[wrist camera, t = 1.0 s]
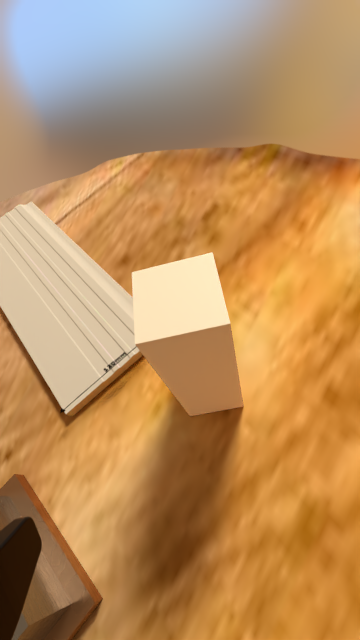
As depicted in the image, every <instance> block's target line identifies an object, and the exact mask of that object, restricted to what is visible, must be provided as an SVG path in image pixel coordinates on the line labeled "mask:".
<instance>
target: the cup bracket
mask: <svg viewBox="0 0 360 640" xmlns="http://www.w3.org/2000/svg"><path fill="white" fill-rule="evenodd" d="M27 516H29V517H31V518H33V520H34V522H35V525H36V527H37V530H38V532H39V534H40V537H41V539H42V548H41V552H40V556H39V559H38V562H37V565H36V568H35V572H34V575H33V578H32V581H31V584H30V588H29V591H28V594H27V597H26V600H25V604H24V607H23V610H22V613H21V616H20V619H19V622H18V624H17V627H16V630H15V632H14V635H13V638H12V640H72V638H73V637H74V636H75V634H76V633H77V632H78V630H79V629H80V628H81V626H82V625H83V624H84V622H85V621H86V620H87V618H88V617H89V616H90V614H91V613H92V612H93V611H94V609H95V608H96V607H97V605H98V604H99V603H100V601H101V600H102V599H103V598H102V597H101V595H100V594H99V592H98V590H97V589H96V587H95V586H94V584H93V583H92V581H91V580H90V578H89V576H88V575H87V573H86V572H85V570H84V569H83V567H82V566H81V564H80V562H79V561H78V559H77V558H76V556H75V555H74V553H73V552H72V550H71V548H70V547H69V545H68V544H67V542H66V541H65V539H64V538H63V536H62V534H61V533H60V531H59V530H58V528H57V527H56V525H55V523H54V522H53V520H52V519H51V517H50V516H49V514H48V513H47V511H46V509H45V508H44V506H43V505H42V503H41V502H40V500H39V499H38V497H37V495H36V494H35V492H34V491H33V489H32V488H31V486H30V485H29V483H28V481H27V480H26V478H25V477H24V475H18V474H14V475H13V476H12V477H11V478H10V480H9V481H8V482H7V483H6V484H5V485H4V486H3V487H2V488H1V489H0V530H2V529H3V528H4V527H5V526H7V525H8V524H9V523H10V522H11V521H13V520H14V519H16V518H20V517H27Z"/></svg>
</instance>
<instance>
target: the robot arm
mask: <svg viewBox="0 0 360 640" xmlns="http://www.w3.org/2000/svg"><path fill="white" fill-rule="evenodd" d="M41 548H42V539H41V537H40V534H39V532H38V530H37V527H36V525H35V522H34V520H33V518H31V517H29V516H27V517H20V518H16V519H14V520H13V521H11V522H10V523H9V524H8V525H7V526H5V527H4V528H3V529H2V530H0V640H12V638H13V635H14V632H15V630H16V627H17V624H18V622H19V619H20V616H21V613H22V610H23V607H24V604H25V600H26V597H27V594H28V591H29V588H30V584H31V581H32V578H33V575H34V572H35V568H36V565H37V562H38V559H39V556H40V552H41Z"/></svg>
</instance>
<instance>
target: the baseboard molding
mask: <svg viewBox="0 0 360 640" xmlns="http://www.w3.org/2000/svg"><path fill="white" fill-rule="evenodd" d="M0 307H1V308H2V310H3V311H4V313H5V315H6V316H7V318H8V320H9V321H10V323H11V325H12V326H13V328H14V330H15V331H16V333H17V335H18V336H19V338H20V340H21V341H22V343H23V344H24V346H25V348H26V349H27V351H28V353H29V354H30V356H31V358H32V359H33V361H34V363H35V364H36V366H37V368H38V369H39V371H40V373H41V374H42V376H43V378H44V379H45V381H46V382H47V384H48V386H49V387H50V389H51V391H52V392H53V394H54V396H55V397H56V399H57V401H58V402H59V404H60V406H61V407H62V408H61V412H65V414H66V415H68V416H74V415H75V414H76V413H77V412H79V411H80V410H81V409H82V408H83V407H84V406H85V405H87V404H88V403H89V402H90V401H91V400H92V399H93V398H95V397H96V396H97V395H98V394H99V393H100V392H101V391H103V390H104V389H105V388H106V387H107V386H108V385H109V384H111V383H112V382H113V381H114V380H115V379H116V378H117V377H119V376H120V375H121V374H122V373H123V372H124V371H125V370H127V369H128V368H129V367H130V366H131V365H132V364H133V363H135V362H136V361H137V360H138V359H139V358H140V357H141V356H143V354H142V353H141V352H140V350H139V349H138V348H137V346H136V345H135V336H134V312H133V298H132V297H131V296H130V295H129V294H128V293H127V292H126V291H125V290H124V289H123V288H122V287H121V286H120V285H119V284H118V283H117V282H116V281H115V280H114V279H113V278H111V277H110V276H109V275H108V274H107V273H106V272H105V271H104V270H103V269H102V268H101V267H100V266H99V265H98V264H97V263H96V262H95V261H94V260H93V259H91V258H90V257H89V256H88V255H87V254H86V253H85V252H84V251H83V250H82V249H81V248H80V247H79V246H78V245H77V244H76V243H75V242H74V241H73V240H71V239H70V238H69V237H68V236H67V235H66V234H65V233H64V232H63V231H62V230H61V229H60V228H59V227H58V226H57V225H56V224H55V223H54V222H53V221H51V220H50V219H49V218H48V217H47V216H46V215H45V214H44V213H43V212H42V211H41V210H40V209H39V208H38V207H37V206H36V205H35V204H34V203H33V202H30V203H28V204H26V205H21V204H19V205H17V206H16V207H15V208H14V209H13V210H11V211H10V212H7V213H6V214H5V215H4V216H3V217H1V218H0Z"/></svg>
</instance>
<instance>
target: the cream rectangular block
mask: <svg viewBox="0 0 360 640" xmlns="http://www.w3.org/2000/svg"><path fill="white" fill-rule="evenodd" d="M132 289H133V312H134V336H135V345H136V346H137V348H138V349H139V350H140V352H141V353H142V354H143V356H144V357H145V358H146V359H147V361H148V362H149V363H150V365H151V366H152V367H153V369H154V370H155V371H156V373H157V374H158V375H159V376H160V378H161V379H162V380H163V382H164V383H165V384H166V386H167V387H168V388H169V389H170V391H171V392H172V393H173V395H174V396H175V397H176V399H177V400H178V401H179V402H180V404H181V405H182V406H183V408H184V409H185V410H186V412H187V413H188V414H189V416H195V415H200V414H206V413H211V412H216V411H222V410H227V409H233V408H238V407H244V406H243V400H242V394H241V387H240V381H239V375H238V369H237V362H236V356H235V350H234V344H233V338H232V331H231V325H230V321H229V317H228V313H227V309H226V305H225V301H224V296H223V292H222V288H221V284H220V280H219V276H218V272H217V268H216V264H215V260H214V256H213V252H212V253H208V254H204V255H200V256H196V257H192V258H188V259H184V260H180V261H176V262H172V263H168V264H164V265H160V266H156V267H152V268H148V269H144V270H140V271H136V272H132Z"/></svg>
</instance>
